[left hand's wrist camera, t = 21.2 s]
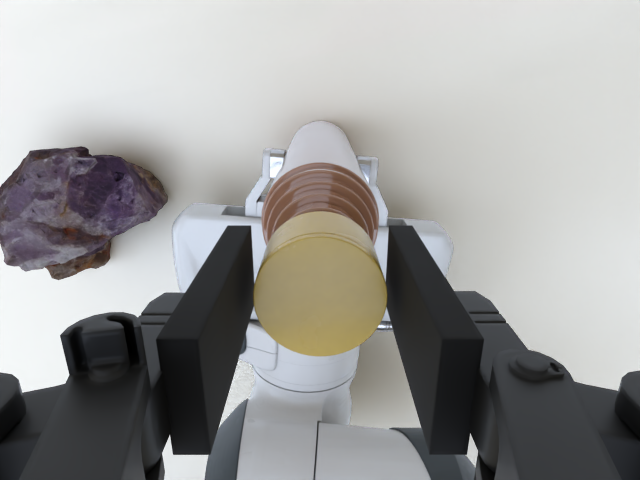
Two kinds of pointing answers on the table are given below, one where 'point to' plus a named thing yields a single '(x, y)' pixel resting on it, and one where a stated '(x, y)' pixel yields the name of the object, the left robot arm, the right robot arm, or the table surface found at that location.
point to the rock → (72, 209)
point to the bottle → (320, 181)
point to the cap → (320, 285)
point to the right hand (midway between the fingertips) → (320, 153)
